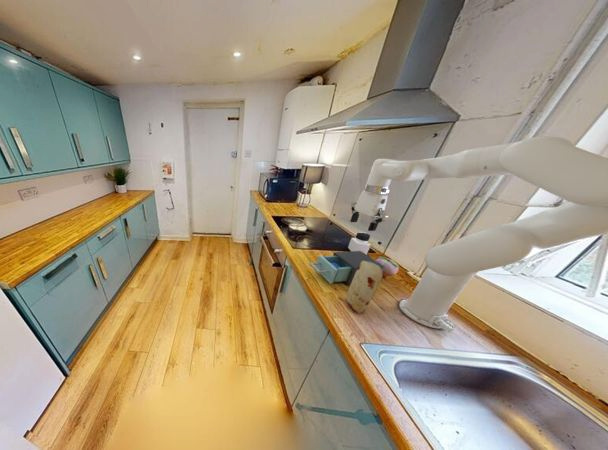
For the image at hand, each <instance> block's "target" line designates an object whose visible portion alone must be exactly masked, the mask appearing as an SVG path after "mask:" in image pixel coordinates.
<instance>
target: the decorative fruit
mask: <svg viewBox="0 0 608 450" xmlns="http://www.w3.org/2000/svg"><path fill="white" fill-rule="evenodd" d="M374 260H375V261H377V262H378V263H380V264H381V265H383V266H384V267H383V269H382V273H383V275H382V277H393V276H395V275H396V274H397V273H398V272H399V269H400V265H399V263H398V262H396V261H395V260H393V259H391V257H385V256H377V259H374Z"/></svg>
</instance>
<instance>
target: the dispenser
mask: <svg viewBox="0 0 608 450" xmlns="http://www.w3.org/2000/svg"><path fill="white" fill-rule="evenodd" d="M332 256H337V257H339V258H340V259H341V260H342V261H344V262H345V263H346V264H348V265H349V266H350V267H351V268H352V270H351V273H350V275H349V278H348V280H347V281H342V282H343V283H344V284H345V285H347V286H350V285H351V283H352V280H353V278H354V275H355V273H356V271H357V269H358V267H359V265H360V263H361V261H368V262H371V263H374V264H376V265H378V266H379V267H380V268H381V269H383V267H384V266H383V265H381V264H380V263H378V262H377V261H375V260H376V259H374V258H372V257H370V255H368V254H367V255H366V254H364V253H363V252H361V251H335V252H333V255H332Z"/></svg>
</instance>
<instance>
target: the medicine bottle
mask: <svg viewBox="0 0 608 450" xmlns="http://www.w3.org/2000/svg"><path fill="white" fill-rule="evenodd" d="M370 238H371V235H370V234H369V233H367V232H364V231H358V232H357V233H356V235H355V237H351V238H350V241H349V243H348V246H347V248H348V250H349V252H351V251H361V252H363V253H364V254H366V255H367V256H368V253H369V251H370V248H371V246H372V244H371V243H370V242H369V240H370Z"/></svg>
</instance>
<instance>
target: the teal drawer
mask: <svg viewBox="0 0 608 450" xmlns="http://www.w3.org/2000/svg"><path fill="white" fill-rule="evenodd" d="M331 263H336V264H337V265H339V266H340V267H341V268H338V269H336V268H335V267H334V266H333V265H332V264H331ZM308 264H309V266H310V267H311V268H312V269H313V270H314V271H315V272H316V273H317V274H318V275H320V276H322V277H323V278H324V279H325V281H327V282H328V283H329V284H330V285H331V284H333V283H337V282H338V283H339V282H343V281H347V280H348V278H349V275H350V273H351V270H352V268H351V267H350V266H349V265H348V264H346V263H345V262H344V261H342V260H341V259H340V258H339V257H337V256H333V255H324V256H323V255H321V254H320V255H318V257H317V260H316V262H312V261H310V262H309V263H308Z"/></svg>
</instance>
